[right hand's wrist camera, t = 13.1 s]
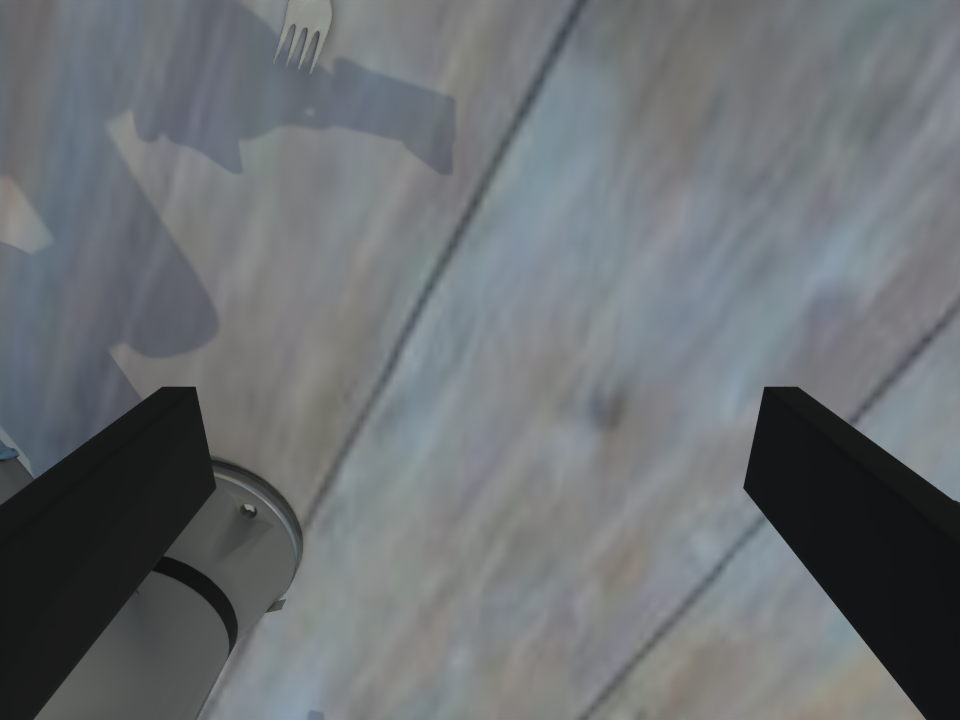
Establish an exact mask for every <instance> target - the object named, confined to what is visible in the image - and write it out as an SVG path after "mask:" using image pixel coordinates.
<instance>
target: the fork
mask: <svg viewBox="0 0 960 720" xmlns="http://www.w3.org/2000/svg"><path fill="white" fill-rule="evenodd" d="M331 20H332V6H331V1H330V0H289V2H288V6H287V10H286V16H285V21H284V26H283V30H282V34H281V37H280V41H279V45H278V48H277V52H276V55H275V58H274V61H273V64H275V63H276V61H277V58H278V56H279V54H280V51H281V49H282V47H283V44H284V42H285V39H286V37H287V34H288V32H289V29H290V27H291V26H292V25H293V24H295V27H296V28H295V34H294V38H293V41H292V45H291V49H290V52H289V56H288V59H287V63H286V68H287V67H288V64H289V62H290V60H291V57H292V55H293V53H294V50H295V48H296V46H297V43H298V40H299V38H300V35H301V33H302V31H303V29H304V28H307V30H308V32H307V37H306V41H305V45H304V49H303V53H302V56H301V60H300V64H299V67H298V71H299V70H300V68H301V66H302V64H303V61H304V59H305V56H306V54H307V52H308V49H309V47H310V44H311V41H312V39H313V36H314V34H315V33H316V32H317V31H319V33H320V35H319V41H318V45H317V49H316V52H315V56H314V60H313V64H312V67H311V71H310V75H312V72H313V70H314V67H315V65H316V62H317V60H318V57H319V55H320V52H321V50H322V47H323V45H324V42H325V39H326V36H327V33H328V31H329V28H330V25H331Z"/></svg>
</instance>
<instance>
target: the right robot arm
mask: <svg viewBox="0 0 960 720" xmlns="http://www.w3.org/2000/svg"><path fill="white" fill-rule="evenodd" d="M18 456H20V455H19V453H18V451H17V450H16V449H14V448H9V447H7V446H6V445H5V444H4V443H3V442H2V441H1V440H0V720H197V719H198V717H199V715H200V713H201V711H202V709H203V707H204V705H205V703H206V701H207V699H208V697H209V695H210V693H211V691H212V689H213V687H214V685H215V683H216V681H217V679H218V677H219V675H220V673H221V671H222V669H223V667H224V665H225V663H226V661H227V659H228V657H229V655H230V653H231V651H232V649H233V647H234V646H235V644H236V642H237V641H238V640H239V639H240V638H241V637H242V636H243V635H244V634H245V633H246V632H247V631H248V630H249V629H250V628H251V627H252V626H253V625H254V624H255V623H256V622H257V621H258V620H259V619H260V618H261V617H262V616H263V615H264V614H265V613H267V612H272V611H277V610H281V609H282V607H283V604H284V602H285V600H286V599H285V600H280V599H281V598H282V596H283V595H284V594H285V593H286V592H287V590H288V588H289V587H290V585H291V583H292V581H293V579H294V576H295V574H296V572H297V570H298V568H299V565H300V562H301V559H302V554H303V539H302V534H301V530H300V527H299V524H298V521H297V519H296V517H295V515H294V513H293V512H292V510H291V509H290V507H289V506H288V504H287V503H286V502H285V501H284V499H283V498H282V497H281V496H280V495H279V494H278V493H277V492H276V491H275V490H274V489H273V488H271V487H270V486H269V485H268V484H266V483H265V482H264V481H262V480H261V479H259V478H257V477H256V476H254V475H252V474H250V473H248V472H246V471H244V470H242V469H239V468H237V467H234V466H231V465H228V464H224V463H220V462H215V461H211V458H210V454H209V449H208V444H207V439H206V435H205V430H204V425H203V420H202V415H201V411H200V406H199V401H198V396H197V392H196V387H161V388H160V389H159V390H157V391H156V392H154V393H153V394H152V395H150V396H149V397H148V398H146V399H145V400H144V401H142V402H141V403H139V404H138V405H137V406H135V407H134V408H133V409H131V410H130V411H128V412H127V413H126V414H124V415H123V416H122V417H120V418H119V419H117V420H116V421H115V422H113V423H112V424H111V425H109V426H108V427H107V428H105V429H104V430H102V431H101V432H100V433H98V434H97V435H96V436H94V437H93V438H91V439H90V440H89V441H87V442H86V443H85V444H83V445H82V446H80V447H79V448H78V449H76V450H75V451H74V452H72V453H71V454H70V455H68V456H67V457H65V458H64V459H63V460H61V461H60V462H59V463H57V464H56V465H54V466H53V467H52V468H50V469H49V470H48V471H46V472H45V473H44V474H42V475H41V476H39V477H38V478H37V479H34V478H33V477H32V475H31V474H30V473H29V472H28V471H27V469H26V468H25V467H24V466H23V465H22V464H21V462H20V461H19V460H18V459H17V458H16V457H18ZM743 488H744V490H745V491H746V492H747V493H748V495H749V496H750V497H751V498H752V500H753V501H754V502H755V503H756V505H757V506H758V507H759V509H760V510H761V511H762V512H763V514H764V515H765V516H766V517H767V519H768V520H769V521H770V522H771V524H772V525H773V526H774V527H775V529H776V530H777V531H778V533H779V534H780V535H781V536H782V538H783V539H784V540H785V541H786V543H787V544H788V545H789V546H790V548H791V549H792V550H793V552H794V553H795V554H796V555H797V557H798V558H799V559H800V560H801V562H802V563H803V564H804V565H805V567H806V568H807V569H808V571H809V572H810V573H811V574H812V576H813V577H814V578H815V579H816V581H817V582H818V583H819V584H820V586H821V587H822V588H823V590H824V591H825V592H826V593H827V595H828V596H829V597H830V598H831V600H832V601H833V602H834V603H835V605H836V606H837V607H838V608H839V610H840V611H841V612H842V614H843V615H844V616H845V617H846V619H847V620H848V621H849V622H850V624H851V625H852V626H853V627H854V629H855V630H856V631H857V633H858V634H859V635H860V636H861V638H862V639H863V640H864V641H865V643H866V644H867V645H868V646H869V648H870V649H871V650H872V652H873V653H874V654H875V655H876V657H877V658H878V659H879V660H880V662H881V663H882V664H883V665H884V667H885V668H886V669H887V670H888V672H889V673H890V674H891V676H892V677H893V678H894V679H895V681H896V682H897V683H898V684H899V686H900V687H901V688H902V689H903V691H904V692H905V693H906V695H907V696H908V697H909V698H910V700H911V701H912V702H913V703H914V705H915V706H916V707H917V708H918V710H919V711H920V712H921V714H922V715H923V716H924V717H925V719H926V720H960V503H959V502H957V501H953V500H952V499H951V498H949V497H948V496H947V495H945V494H944V493H943V492H941V491H940V490H938V489H937V488H936V487H934V486H933V485H932V484H930V483H929V482H927V481H926V480H925V479H923V478H922V477H921V476H919V475H918V474H916V473H915V472H914V471H912V470H911V469H910V468H908V467H907V466H906V465H904V464H903V463H901V462H900V461H899V460H897V459H896V458H895V457H893V456H892V455H890V454H889V453H888V452H886V451H885V450H884V449H882V448H881V447H880V446H878V445H877V444H875V443H874V442H873V441H871V440H870V439H869V438H867V437H866V436H864V435H863V434H862V433H860V432H859V431H858V430H856V429H855V428H853V427H852V426H851V425H849V424H848V423H847V422H845V421H844V420H843V419H841V418H840V417H838V416H837V415H836V414H834V413H833V412H832V411H830V410H829V409H827V408H826V407H825V406H823V405H822V404H821V403H819V402H818V401H816V400H815V399H814V398H812V397H811V396H810V395H808V394H807V393H806V392H804V391H803V390H801V389H800V388H799V387H764V392H763V396H762V401H761V406H760V411H759V415H758V420H757V425H756V430H755V435H754V439H753V444H752V449H751V454H750V458H749V463H748V468H747V473H746V478H745V482H744V487H743ZM279 600H280V601H279Z"/></svg>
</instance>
